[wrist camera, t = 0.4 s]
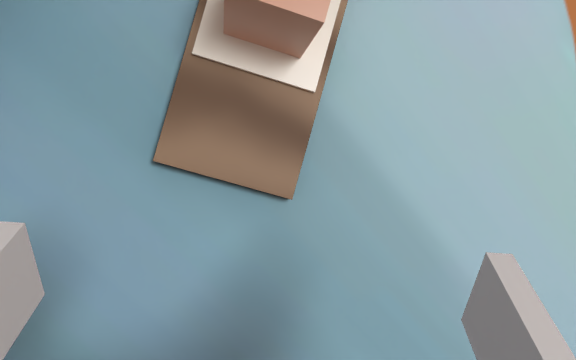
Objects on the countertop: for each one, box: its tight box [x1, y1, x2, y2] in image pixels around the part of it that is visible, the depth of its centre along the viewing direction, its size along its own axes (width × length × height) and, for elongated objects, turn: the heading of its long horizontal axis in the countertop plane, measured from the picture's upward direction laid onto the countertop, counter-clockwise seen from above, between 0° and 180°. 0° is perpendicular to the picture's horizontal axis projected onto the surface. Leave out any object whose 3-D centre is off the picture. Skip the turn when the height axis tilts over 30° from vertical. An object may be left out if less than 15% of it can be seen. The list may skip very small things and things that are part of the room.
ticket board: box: [153, 0, 348, 200], centre depth 30 cm, size 21×9×2 cm, turn 164°
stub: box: [192, 0, 341, 93], centre depth 26 cm, size 6×8×7 cm
